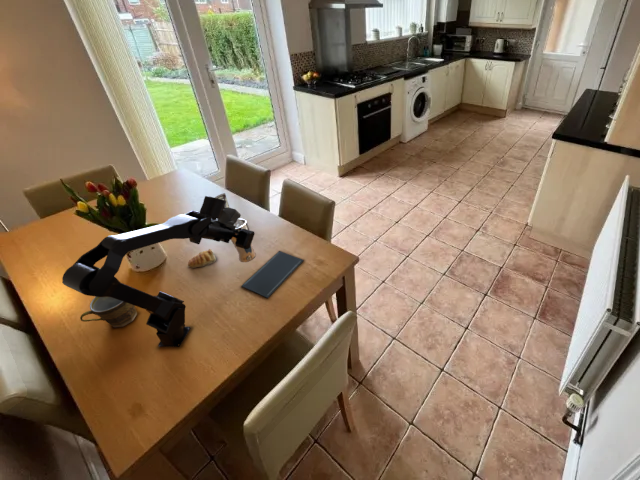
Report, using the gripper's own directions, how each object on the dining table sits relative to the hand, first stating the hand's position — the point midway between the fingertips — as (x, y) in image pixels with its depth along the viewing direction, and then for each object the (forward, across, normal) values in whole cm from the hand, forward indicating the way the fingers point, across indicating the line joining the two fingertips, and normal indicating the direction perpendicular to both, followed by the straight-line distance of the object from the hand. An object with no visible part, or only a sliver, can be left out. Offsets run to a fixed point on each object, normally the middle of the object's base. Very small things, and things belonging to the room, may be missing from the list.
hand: (244, 236), depth 115 cm
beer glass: (+5, -1, +7) cm, 9 cm away
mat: (+8, -11, +10) cm, 17 cm away
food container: (+22, +32, -3) cm, 39 cm away
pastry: (+5, +18, +14) cm, 23 cm away
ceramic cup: (-16, +21, +36) cm, 45 cm away
